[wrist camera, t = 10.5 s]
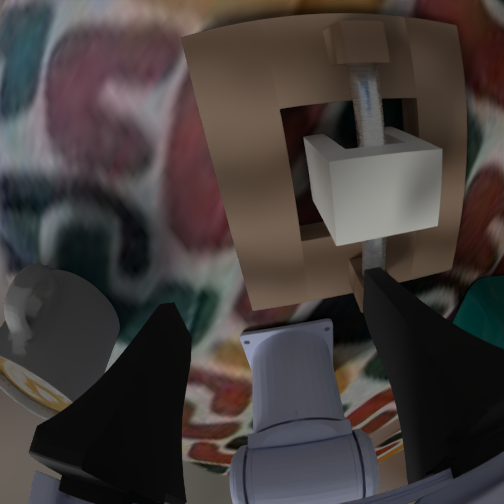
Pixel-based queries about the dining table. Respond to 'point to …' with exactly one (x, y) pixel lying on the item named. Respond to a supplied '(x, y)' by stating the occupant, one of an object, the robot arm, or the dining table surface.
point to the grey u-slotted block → (375, 186)
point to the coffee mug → (54, 338)
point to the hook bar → (368, 138)
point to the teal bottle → (484, 310)
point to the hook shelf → (314, 92)
